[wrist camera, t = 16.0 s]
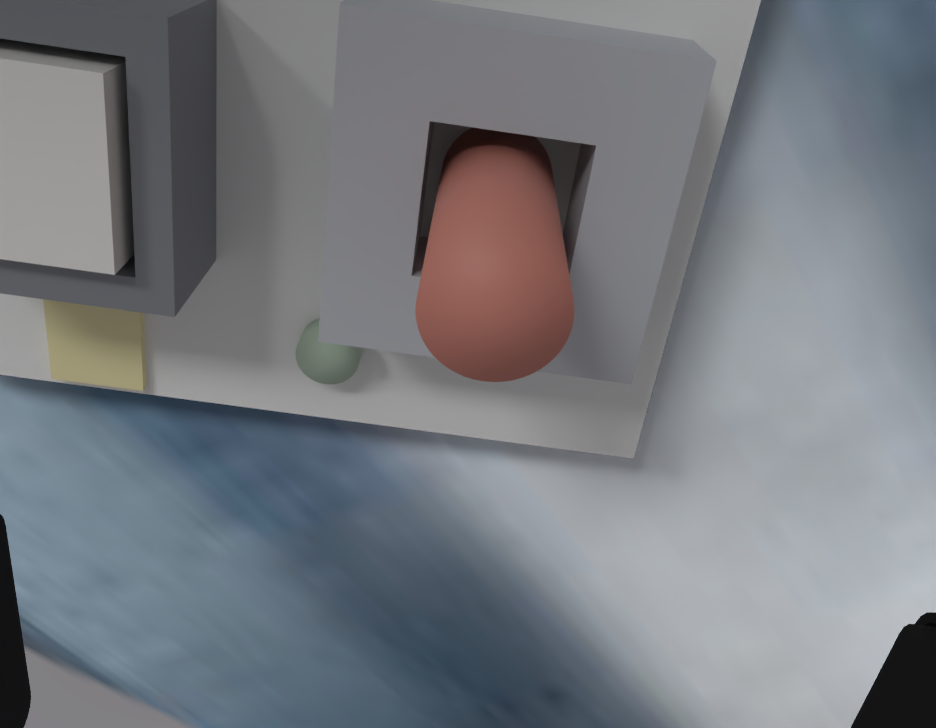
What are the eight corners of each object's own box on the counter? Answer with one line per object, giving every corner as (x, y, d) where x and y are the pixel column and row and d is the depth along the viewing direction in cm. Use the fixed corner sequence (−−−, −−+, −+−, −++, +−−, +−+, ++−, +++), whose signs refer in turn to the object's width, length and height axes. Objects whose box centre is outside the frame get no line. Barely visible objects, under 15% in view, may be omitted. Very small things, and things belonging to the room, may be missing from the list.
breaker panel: (-150, -292, 23) (-347, -341, 17) (778, -143, 24) (858, -146, 18) (-49, 336, 31) (-160, 430, 26) (626, 426, 32) (651, 535, 27)
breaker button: (-30, 15, 24) (-122, 40, 20) (161, 43, 24) (103, 73, 20) (-7, 196, 26) (-86, 247, 22) (166, 220, 26) (114, 274, 23)
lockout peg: (449, 113, 25) (425, 227, 17) (561, 130, 25) (589, 251, 17) (434, 221, 27) (407, 370, 19) (541, 236, 27) (558, 391, 19)
